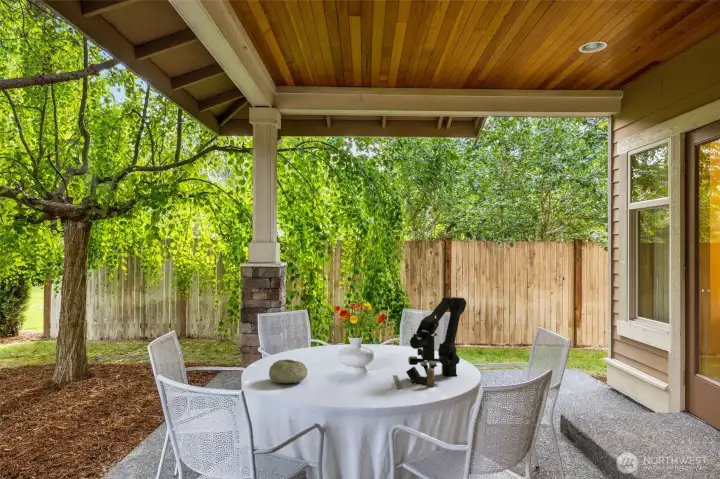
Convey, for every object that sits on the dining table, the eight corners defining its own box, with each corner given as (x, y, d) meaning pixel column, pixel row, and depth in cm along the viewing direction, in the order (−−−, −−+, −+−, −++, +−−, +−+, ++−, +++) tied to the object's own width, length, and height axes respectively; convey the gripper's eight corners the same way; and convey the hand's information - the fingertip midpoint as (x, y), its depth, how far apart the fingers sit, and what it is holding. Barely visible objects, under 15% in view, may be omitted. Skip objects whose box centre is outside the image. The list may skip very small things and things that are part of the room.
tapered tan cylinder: (433, 385, 209) (433, 368, 209) (434, 387, 205) (434, 369, 206) (426, 385, 209) (426, 368, 209) (427, 387, 205) (427, 369, 205)
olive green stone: (302, 375, 224) (302, 355, 225) (311, 385, 208) (311, 363, 208) (265, 379, 218) (266, 358, 218) (272, 389, 201) (272, 366, 202)
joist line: (397, 375, 225) (397, 375, 225) (402, 389, 203) (402, 388, 203) (393, 375, 225) (393, 375, 225) (397, 389, 203) (397, 388, 203)
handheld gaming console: (429, 382, 209) (416, 363, 212) (416, 391, 210) (404, 372, 213) (432, 379, 219) (420, 361, 223) (421, 387, 220) (409, 369, 224)
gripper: (444, 342, 225) (444, 374, 224) (406, 342, 224) (406, 374, 224) (449, 347, 213) (449, 380, 213) (409, 347, 213) (409, 380, 213)
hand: (428, 378), depth 216 cm, fingers closed
